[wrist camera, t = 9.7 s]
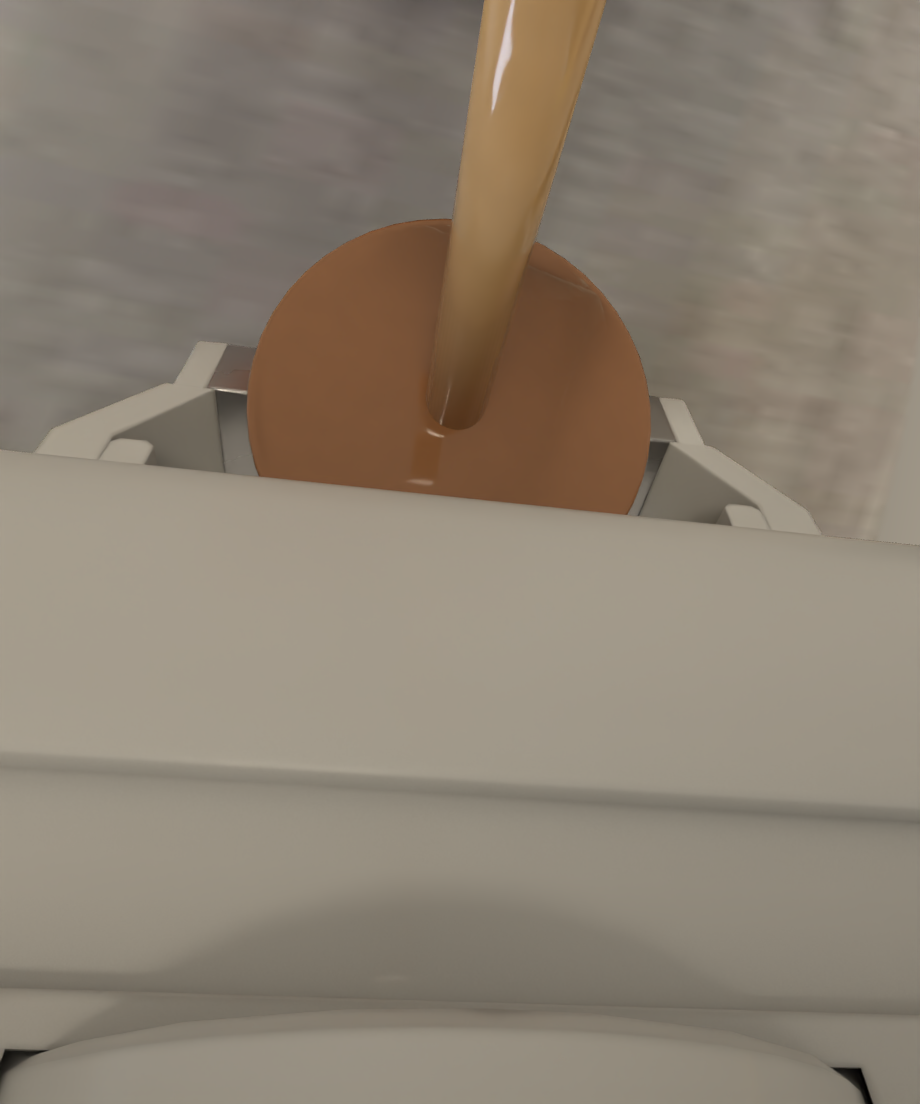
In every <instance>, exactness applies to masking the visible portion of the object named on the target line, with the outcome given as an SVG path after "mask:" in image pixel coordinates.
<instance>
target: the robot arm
mask: <svg viewBox="0 0 920 1104" xmlns="http://www.w3.org/2000/svg"><path fill="white" fill-rule="evenodd" d="M255 351H256V348H252V347H244V346H237V345H229V344H228V343H217V342H206V341H199V342H198V343H197V344H196V346H195V347H194V349H193V351H192V353H191V354H190V356H189V358H188V360H187V361H186V363H185V365H184V367H183V368H182V370H181V372H180V374H179V375H178V377H177V379H176V381H175V382H174V384H170V383H164V384H162V385H159V386H157V387H154V388H152V389H149V390H147V391H144V392H142V393H139V394H137V395H134V396H132V397H129V398H127V399H124V400H122V401H119V402H117V403H114V404H112V405H109V406H107V407H104V408H102V409H99V410H97V411H94V412H92V413H89V414H87V415H84V416H82V417H79V418H77V419H74V420H72V421H69V422H67V423H64V424H62V425H59V426H57V427H54V428H52V429H51V430H50V431H49V433H48V434H47V435H46V437H45V438H44V439H43V441H42V442H41V443H40V445H39V446H38V447H37V449H36V450H35V451H34V452H33V453H28V452H19V451H9V450H0V1104H920V546H919V545H910V544H900V543H890V542H881V541H871V540H862V539H852V538H843V537H833V536H823V535H822V533H821V531H820V529H819V528H818V526H817V524H816V523H815V521H814V519H813V517H812V516H811V514H810V512H809V511H808V510H807V509H805V508H804V507H802V506H801V505H799V504H798V503H796V502H795V501H793V500H792V499H790V498H789V497H787V496H786V495H784V494H783V493H781V492H780V491H778V490H777V489H775V488H774V487H772V486H771V485H769V484H768V483H766V482H765V481H763V480H762V479H760V478H759V477H757V476H756V475H754V474H753V473H751V472H750V471H748V470H747V469H745V468H744V467H742V466H741V465H739V464H738V463H736V462H735V461H733V460H732V459H730V458H729V457H727V456H726V455H724V454H723V453H721V452H720V451H718V450H717V449H715V448H714V447H711V446H705V444H704V442H703V440H702V438H701V436H700V434H699V432H698V430H697V427H696V425H695V423H694V421H693V419H692V417H691V415H690V412H689V410H688V408H687V406H686V404H685V402H684V401H683V400H681V399H673V398H660V397H654V396H649V400H650V408H651V437H650V447H649V456H648V460H647V465H646V469H645V473H644V477H643V481H642V483H641V486H640V489H639V491H638V494H637V496H636V499H635V501H634V504H633V506H632V508H631V509H630V511H629V513H628V515H621V514H612V513H602V512H593V511H583V510H573V509H564V508H554V507H545V506H535V505H525V504H516V503H506V502H497V501H487V500H478V499H468V498H459V497H449V496H440V495H430V494H421V493H411V492H402V491H392V490H383V489H373V488H364V487H354V486H345V485H335V484H326V483H316V482H307V481H297V480H288V479H278V478H269V477H259V476H258V474H257V471H256V468H255V466H254V462H253V457H252V453H251V448H250V444H249V440H248V429H247V418H246V404H247V386H248V380H249V375H250V370H251V365H252V360H253V357H254V354H255Z"/></svg>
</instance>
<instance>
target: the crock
mask: <svg viewBox="0 0 920 1104" xmlns="http://www.w3.org/2000/svg"><path fill="white" fill-rule="evenodd" d="M605 3H606V0H484V6H483V13H482V20H481V27H480V33H479V40H478V47H477V54H476V60H475V67H474V74H473V80H472V87H471V94H470V101H469V107H468V114H467V121H466V128H465V134H464V141H463V148H462V154H461V161H460V168H459V175H458V181H457V188H456V195H455V201H454V208H453V215H452V219H431V220H417V221H411V222H405V223H399V224H394V225H390V226H387V227H384V228H381V229H377V230H374V231H371V232H368V233H366V234H364V235H362V236H359V237H357V238H355V239H353V240H350V241H348V242H346V243H345V244H343V245H341V246H340V247H338V248H337V249H335V250H333V251H332V252H330V253H329V254H327V255H325V256H324V257H323V258H322V259H320V260H319V261H318V262H317V263H316V264H314V265H313V266H312V267H311V268H310V269H308V270H307V271H306V272H305V273H304V274H303V275H302V276H301V277H300V278H299V279H298V280H297V282H296V283H295V284H294V285H293V286H292V287H291V288H290V289H289V290H288V291H287V293H286V294H285V296H284V297H283V298H282V300H281V301H280V303H279V304H278V306H277V307H276V308H275V310H274V311H273V313H272V315H271V317H270V319H269V321H268V323H267V325H266V327H265V329H264V331H263V332H262V334H261V337H260V340H259V343H258V346H257V348H256V351H255V354H254V357H253V360H252V365H251V370H250V375H249V380H248V386H247V404H246V418H247V429H248V440H249V444H250V448H251V453H252V457H253V462H254V466H255V468H256V471H257V474H258V476H259V477H269V478H278V479H288V480H297V481H307V482H316V483H326V484H335V485H345V486H354V487H364V488H373V489H383V490H392V491H402V492H411V493H421V494H430V495H440V496H449V497H459V498H468V499H478V500H487V501H497V502H506V503H516V504H525V505H535V506H545V507H554V508H564V509H573V510H583V511H593V512H602V513H612V514H621V515H628V513H629V511H630V509H631V508H632V506H633V504H634V501H635V499H636V496H637V494H638V491H639V489H640V486H641V483H642V481H643V477H644V473H645V469H646V465H647V460H648V456H649V447H650V437H651V408H650V400H649V393H648V387H647V381H646V377H645V374H644V370H643V367H642V363H641V360H640V357H639V354H638V352H637V350H636V347H635V345H634V343H633V340H632V338H631V336H630V334H629V332H628V330H627V328H626V327H625V325H624V323H623V322H622V320H621V318H620V317H619V315H618V313H617V312H616V310H615V309H614V308H613V306H612V305H611V304H610V302H609V301H608V300H607V299H606V297H605V296H604V295H603V293H602V292H601V291H600V290H599V289H598V288H597V287H596V286H595V285H594V284H593V283H592V282H591V281H590V280H589V279H588V278H587V277H586V276H585V275H584V274H583V273H582V272H581V271H579V270H578V269H577V268H576V267H575V266H573V265H572V264H571V263H570V262H568V261H567V260H566V259H565V258H563V257H561V256H560V255H558V254H557V253H555V252H553V251H552V250H550V249H549V248H547V247H545V246H544V245H542V244H540V243H538V242H536V238H537V235H538V231H539V228H540V224H541V221H542V218H543V214H544V211H545V207H546V204H547V201H548V197H549V194H550V190H551V187H552V184H553V180H554V177H555V173H556V170H557V167H558V163H559V160H560V156H561V153H562V150H563V146H564V143H565V139H566V136H567V133H568V129H569V126H570V122H571V119H572V116H573V112H574V109H575V105H576V102H577V99H578V95H579V92H580V88H581V85H582V82H583V78H584V75H585V71H586V68H587V65H588V61H589V58H590V54H591V51H592V48H593V44H594V41H595V37H596V34H597V31H598V27H599V24H600V20H601V17H602V14H603V10H604V7H605Z"/></svg>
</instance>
